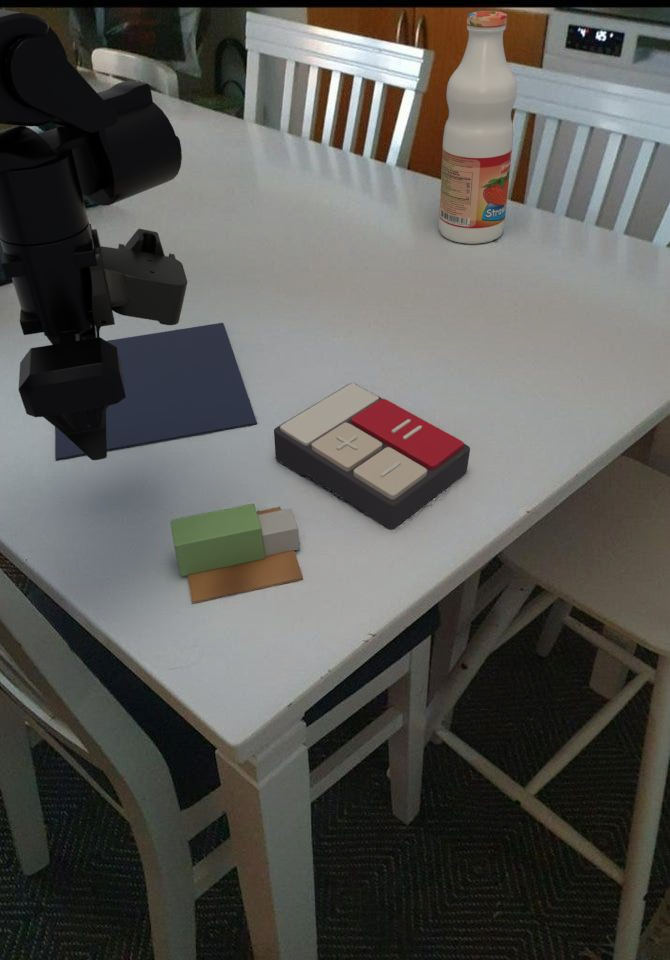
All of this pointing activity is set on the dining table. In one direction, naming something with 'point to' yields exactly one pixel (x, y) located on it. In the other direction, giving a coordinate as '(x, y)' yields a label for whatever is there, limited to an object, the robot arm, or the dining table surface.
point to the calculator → (371, 453)
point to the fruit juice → (478, 136)
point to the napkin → (173, 390)
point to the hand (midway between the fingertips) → (97, 423)
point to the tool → (231, 537)
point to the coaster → (245, 575)
